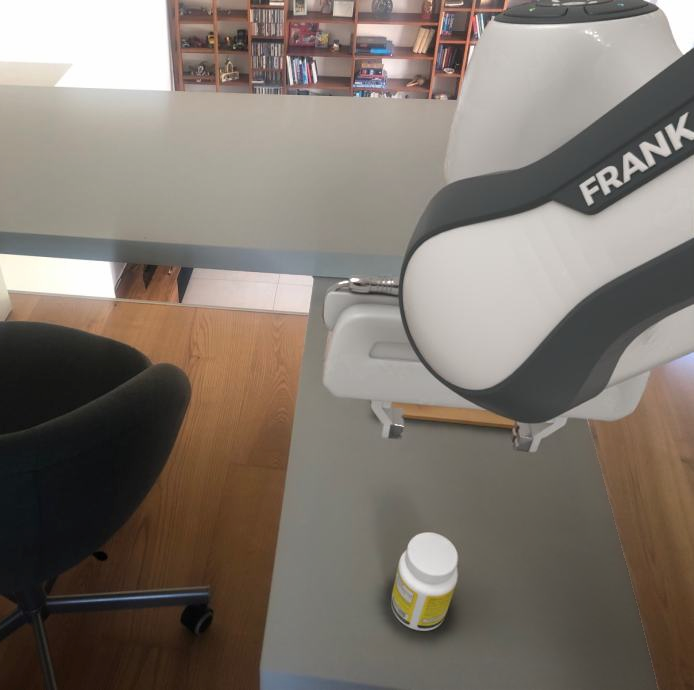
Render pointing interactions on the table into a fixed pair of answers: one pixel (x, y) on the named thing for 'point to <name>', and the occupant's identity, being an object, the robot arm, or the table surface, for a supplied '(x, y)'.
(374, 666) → the table surface
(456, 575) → the supplement bottle
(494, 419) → the wooden board
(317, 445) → the table surface
